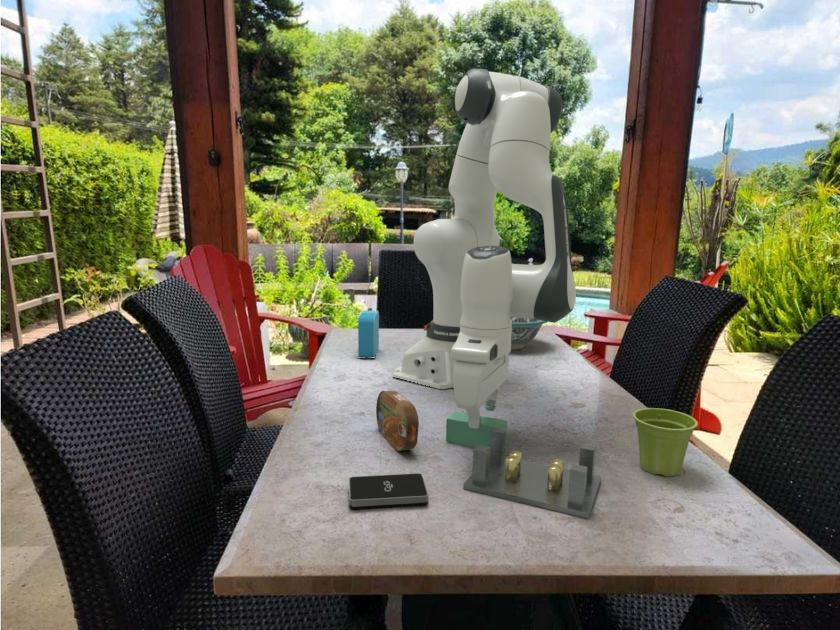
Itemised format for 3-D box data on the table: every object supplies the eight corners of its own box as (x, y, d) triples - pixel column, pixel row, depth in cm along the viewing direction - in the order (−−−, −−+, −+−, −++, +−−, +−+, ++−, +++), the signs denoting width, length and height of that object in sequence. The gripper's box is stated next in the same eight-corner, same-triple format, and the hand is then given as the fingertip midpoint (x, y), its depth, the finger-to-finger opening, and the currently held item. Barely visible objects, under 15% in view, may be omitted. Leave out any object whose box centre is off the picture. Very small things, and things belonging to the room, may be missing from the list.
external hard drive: (428, 509, 77) (429, 496, 76) (348, 514, 75) (348, 500, 75) (421, 485, 84) (421, 472, 83) (348, 489, 82) (347, 476, 82)
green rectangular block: (446, 442, 99) (446, 418, 98) (454, 434, 103) (454, 411, 102) (499, 453, 95) (500, 428, 94) (506, 444, 98) (507, 420, 98)
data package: (363, 349, 165) (363, 309, 163) (378, 349, 165) (379, 310, 163) (358, 359, 153) (358, 317, 151) (374, 359, 153) (374, 317, 151)
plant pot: (661, 487, 83) (666, 432, 82) (616, 461, 92) (620, 411, 90) (705, 476, 87) (711, 424, 86) (658, 452, 96) (663, 404, 94)
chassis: (463, 488, 82) (464, 450, 81) (489, 457, 92) (490, 423, 91) (588, 518, 74) (591, 477, 73) (600, 481, 85) (603, 444, 84)
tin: (374, 427, 105) (374, 384, 103) (390, 425, 106) (390, 383, 105) (403, 459, 91) (404, 411, 90) (421, 456, 93) (422, 408, 91)
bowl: (468, 335, 186) (469, 307, 185) (544, 338, 183) (546, 310, 181) (464, 353, 162) (465, 321, 160) (551, 357, 159) (553, 325, 157)
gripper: (485, 329, 106) (483, 398, 108) (446, 351, 87) (445, 434, 90) (518, 332, 103) (515, 402, 106) (485, 355, 85) (483, 441, 87)
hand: (483, 417), depth 97 cm, fingers open, 8 cm apart
